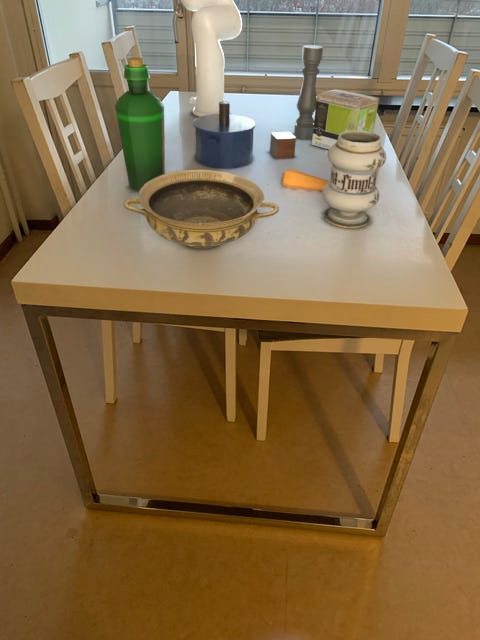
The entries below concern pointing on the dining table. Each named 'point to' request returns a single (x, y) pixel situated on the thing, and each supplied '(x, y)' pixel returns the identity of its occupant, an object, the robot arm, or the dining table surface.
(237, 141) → the pot
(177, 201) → the ceramic bowl
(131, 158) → the bottle
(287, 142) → the block
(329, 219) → the apothecary jar
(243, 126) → the lid
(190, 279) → the dining table surface
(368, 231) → the dining table surface
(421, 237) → the dining table surface
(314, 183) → the carrot
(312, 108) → the candle holder
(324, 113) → the tea box
